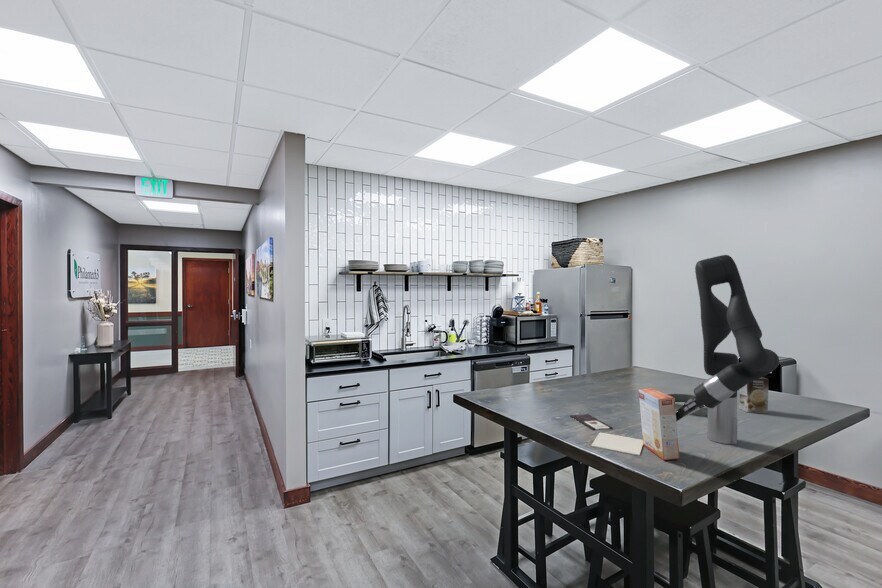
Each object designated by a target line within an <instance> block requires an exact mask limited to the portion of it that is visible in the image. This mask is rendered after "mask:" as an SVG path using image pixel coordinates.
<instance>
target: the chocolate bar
mask: <svg viewBox="0 0 882 588" xmlns="http://www.w3.org/2000/svg"><path fill="white" fill-rule="evenodd" d="M569 417H570V418H572V419H573V418H574V419H573V420H575V419H576V420H575V421H577V422H578V421H579V422H578V423H580V424H582V425H583V426H585V427H587V428H588V429H590V430H592V431H599V429H601V430H611V429H613V427H612V426H611V425H609V424H607V423H605V422H603V421H601V420H600V419H598V418H596V417H594V416H592V415H590V414H589V413H587V414H572V415H569Z"/></svg>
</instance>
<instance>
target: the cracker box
mask: <svg viewBox="0 0 882 588" xmlns="http://www.w3.org/2000/svg"><path fill="white" fill-rule="evenodd" d="M667 394H668V393H664V392H662V391H660V390H658V389H655V388H654V387H651V388H650V387H649V388H640V389H638V399H639V411H640V421H641V435H642V440H643V447H645V448H647V449H648V450H650V451H651V452H652V453H653V454H655V455H656V456H657V457H658V458H660V459H661V460H662V461H670V460H671V461H672V460H680V449H679V437H678V426H677V421H676V412H677V411H676V410H675V398H673V397H671V396H669V395H667Z"/></svg>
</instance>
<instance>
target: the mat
mask: <svg viewBox="0 0 882 588" xmlns="http://www.w3.org/2000/svg"><path fill="white" fill-rule="evenodd" d="M590 447H593V448H597V449H601V450H602V449H603V450H607V451H612V452H617V453H623V454H628V455H633V456H638V457H640V456H641V454H642V449H643V447H644V445H643V439H640V438H639V439H638V438H634V437H628V436H623V435H622V436H621V435H617V434H611V433H606V432H601V431H600V432H599V433H598V434H597V435H596V437H595V439H594V440H593V442H592V444H590Z"/></svg>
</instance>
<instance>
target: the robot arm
mask: <svg viewBox="0 0 882 588" xmlns="http://www.w3.org/2000/svg"><path fill="white" fill-rule="evenodd" d="M694 269H695V271H694V272H695V279H696V284H697V290H698V296H699V304H700V305H699V306H700V323H701V331H702V340H703V369H704V372H705V374H706V375H708V376H710V377H709V378H707V379H706V380H705V381H703V382H702V383H700V384H699V385H697V386H696V387H695V388H694V389H693V393H694V394H693V395H695V396H696V397H693V398H691V399H689V400H688V402H686V403H685V404H684V405H682V407H681V408H680V409H678V410H677V411H678V412H677V411H676V422H678V421H680V420H681V419H683V418H685V417H688V415H692V413H694V412H695V411H697V410H699V409H701V408H703V407H708V415H707V423H706V424H707V425H706V427H707V428H706V429H707V432H706V436H707V439H708V440H710V441H712V442H715V443H717V444H718V443H719V444H724V445H738V391H740V389H741V388H742V387H744V386H745V385H746V384H748V383H750V382H752V381H755V380H757V379H759V378H761V377H766V376H767V375H769V374H771V373H772V372H773V371H775V370H776V369H777V367H778V366H779V363H780V358H779V355H778V354H777V353H776V351H773V350H771V349H768V348H765V347H764V345H763V343H762V340H761V338H762V336H763V332H762V330H761V327H760V325H759V323H758V321H757V320H756V316H755V315H754V313H753V311H752V309H751V306H750V303H749V300H748V297H747V294H746V290H745V288H744V284H743V281H742V277H741V274H740V271H739V269H738V266H737V264H736V262H735V260H734V259H733V257H732V256H730V255H729V254H723V255H718V256H713V257H710V258H705V259H700V260H698V261H697V262H696V264H695V268H694ZM727 283H728V285H729V287H730V299H729V302H728V306H727V305H726V304H724V303H723V302H722V300H720V299H719V298H718V297H717V296H715V294H714V293H713V292H712V287H713V286H717V285H722V284H727ZM730 333H732V334H733V337H734V338H735V343H736V344H735V345H736V349H737V354H738V356H737V354H735V353H733V352H732V353H729V352H719V351H715V350H716V348H717V347H718V346H719V345H720V344H721V343H722V342H723V341H724V340H725V339H726V338H727V337H728V336H729V335H730ZM738 357H739V358H738ZM739 359H740V362H739ZM704 405H705V406H704Z"/></svg>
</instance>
